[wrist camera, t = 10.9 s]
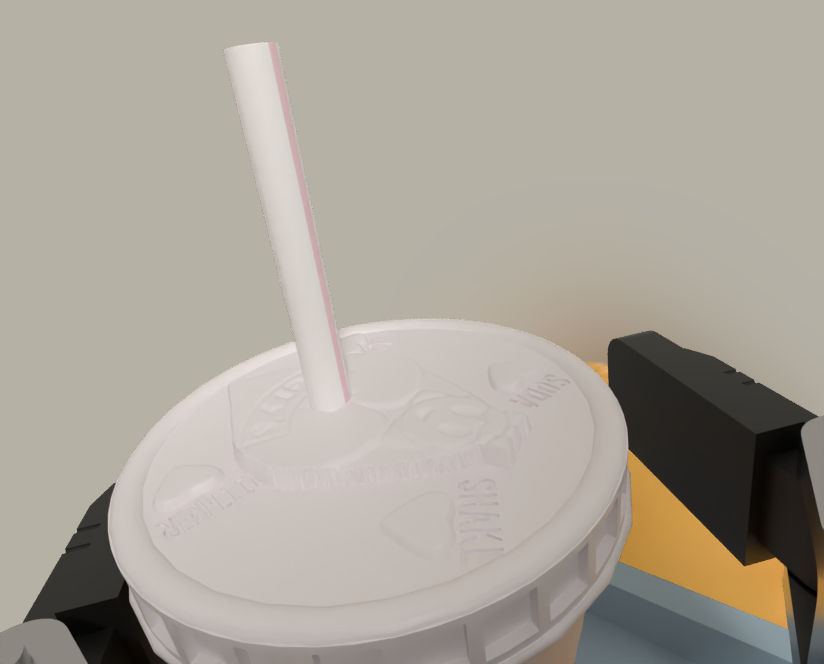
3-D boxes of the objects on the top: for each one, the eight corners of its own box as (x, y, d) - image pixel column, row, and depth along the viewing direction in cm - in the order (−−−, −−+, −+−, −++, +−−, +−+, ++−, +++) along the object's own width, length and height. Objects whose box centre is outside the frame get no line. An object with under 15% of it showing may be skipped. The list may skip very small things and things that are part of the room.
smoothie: (384, 629, 15) (258, 69, 9) (634, 720, 12) (678, -8, 6) (217, 931, 10) (-294, 107, 4) (580, 1212, 7) (556, -201, 1)
